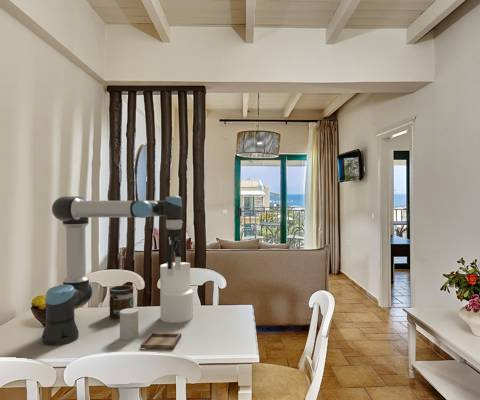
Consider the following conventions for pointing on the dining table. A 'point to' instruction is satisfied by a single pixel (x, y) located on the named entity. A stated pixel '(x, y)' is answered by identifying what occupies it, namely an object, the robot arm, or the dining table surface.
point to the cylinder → (176, 294)
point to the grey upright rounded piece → (129, 324)
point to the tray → (161, 341)
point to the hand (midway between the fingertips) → (174, 272)
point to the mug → (120, 300)
